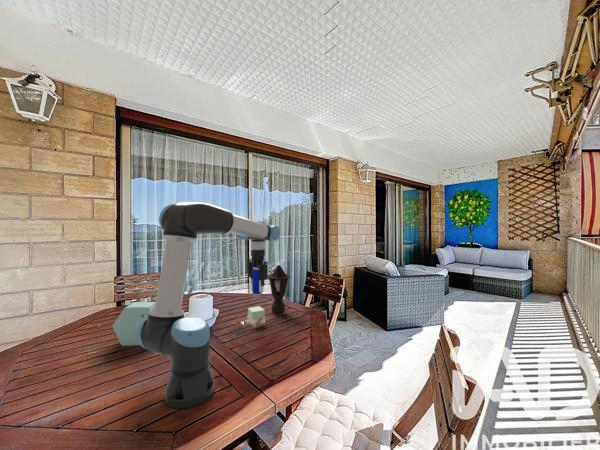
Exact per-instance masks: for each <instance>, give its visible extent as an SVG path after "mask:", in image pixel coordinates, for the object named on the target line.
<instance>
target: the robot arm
mask: <svg viewBox="0 0 600 450" xmlns="http://www.w3.org/2000/svg"><path fill="white" fill-rule="evenodd" d="M158 222H159V226H160V227H161V229H162V230H163V232H162V237H163V238H164V239H165V240H166V241H165V242H166V243H165V247H164V252H163V258H162V264H161V269H160V274H159V275H160V276H159V282H158V286H157V290H156V291H157V293H156V297H155V301H154V302H155V307H154V309H152V310H151V311H150V312H149V314H148V317H147V318H146V319H145V320H144V322H143V323H141V325H140V327H139V329H138V341H139V344H140V345H139V346H141V347H142V348H143V349H145V350H147V351H148V352H150V353H154V354H158V355H161V356H163V357H165V358H168V359H170V362H171V363H170V364H171V367H170V370H171V371H170V376H169V378H168V381H167V385H166V388H165V390H164V401H165V403H166V405H168V407H171V408H175V409H188V408H192V407H195V406H198V405H200V404H202V403H205V401H207V400H208V399H209V398H210V397H211V396H212V395H213V393H214V392H215V377H214V376H213V373H212V370H211V367H210V351H211V349H210V347H211V346H210V344H211V331H210V326H209V323H208V322H207V321H206V320H205V319H204V318H201V317H197V316H196V317H195V316H194V317H191V316H188V317H185V311H184V310H183V309H182V303H183V296H184V291H185V284H186V279H187V274H188V273H187V272H188V268H189V261H190V254H191V249H192V244H193V243H194V242H195V241H197V238H198V235H204V234H205V235H206V234H209V235H210V234H219V235H227V234H233V235H235V236H236V237H237V239H239V240H243V241H246V240H251V241H250V242H251V243H250V248H251V250H250V255H251V258H248V259H247V277H248V278H250V285H251V287H250V288H251V292H253V267H257V266H258V268H259V274H260V280H259V292H262V293H263V292H264V287H265V280H268V279H269V278H268V275H269V274H268V273H269V272H268V270H269V267H268V265H269V261H268V260H265V255H266V250H265V249H266V241H267V242H269V241H270V242H274V241H278V240H279V239H280V237H281V230H280V229H281V228H280V227H279V226H278V225H273V224H266V223H265V221H263V220H261V221H260V220H258V221H255V220H253V219H249V218H245V217H242V216H239V215H236V214H233V213H232V211H231V210H228V209H225V208H222V207H220V206H216V205H213V204H210V203H206V202H201V201H199V202H198V201H196V202H181V201H179V202H174V203H170V204H168V205H166V206H164V208H163V209H162V210H161V212H160V213H159V217H158Z"/></svg>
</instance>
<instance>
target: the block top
mask: <svg viewBox="0 0 600 450" xmlns="http://www.w3.org/2000/svg"><path fill="white" fill-rule="evenodd" d="M265 311H266V310H265V309H264V308H263V307H261V306H254V307H253V306H252V307H248V308H247V316H249V317H250V318H251V319H252V320H253V319H258V318H263V317H265V318H266V316H265Z"/></svg>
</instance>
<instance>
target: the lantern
mask: <svg viewBox="0 0 600 450" xmlns="http://www.w3.org/2000/svg"><path fill="white" fill-rule="evenodd" d="M290 278H291V275H290V274H287V273H286V272H285V270H284V269H283V267H282V266H281V265H280V264H277V266H276V267H275V269H273V272H272V273H271V274H268V278H267V279H268V281H269V286H270V291H271V296H272V297H273V299H274V300H273V303H272V304H271V314H272V313H273V314H283V313H284V312H286V304H285V303H284V301H283V299H284V297H285V296H286V290H287V286H288V285H287V284H288V279H290ZM273 314H272V315H273Z"/></svg>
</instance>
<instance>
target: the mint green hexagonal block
mask: <svg viewBox="0 0 600 450" xmlns="http://www.w3.org/2000/svg"><path fill="white" fill-rule="evenodd" d="M155 302H156V301H140V302H139V301H134V302H131V304H129V305H127V306H125V307H124V308H123V309H122V311H121V312H120V314H119V315H118V316H117V318H116V319H115V320H114V322H113V324H112V328H113V331H114V333H115V335H116V337H117V340H118V341H119V343H120V346H121V347H129V346H130V347H131V346H132V347H133V346H141V345H140V344H139V341H138V329H139V327H140V325H141V323H143V322H144V320H145V319H146V318H147V317H148V314H149V312H150V311H151V310H152V309H154V307H155Z"/></svg>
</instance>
